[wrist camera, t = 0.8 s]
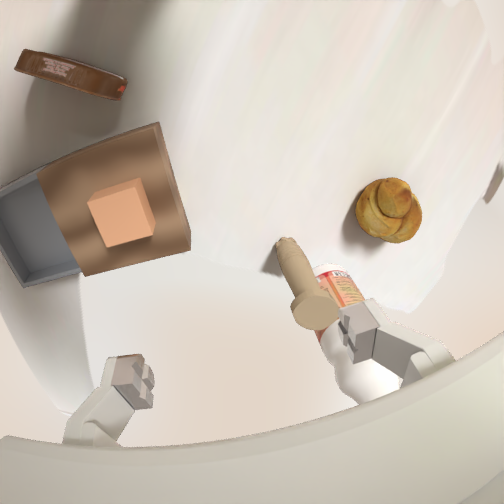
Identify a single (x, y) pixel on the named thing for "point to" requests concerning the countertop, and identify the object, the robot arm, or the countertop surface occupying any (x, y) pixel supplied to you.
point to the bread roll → (389, 210)
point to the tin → (72, 74)
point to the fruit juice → (347, 374)
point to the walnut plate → (107, 175)
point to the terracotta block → (122, 213)
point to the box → (32, 234)
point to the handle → (305, 288)
